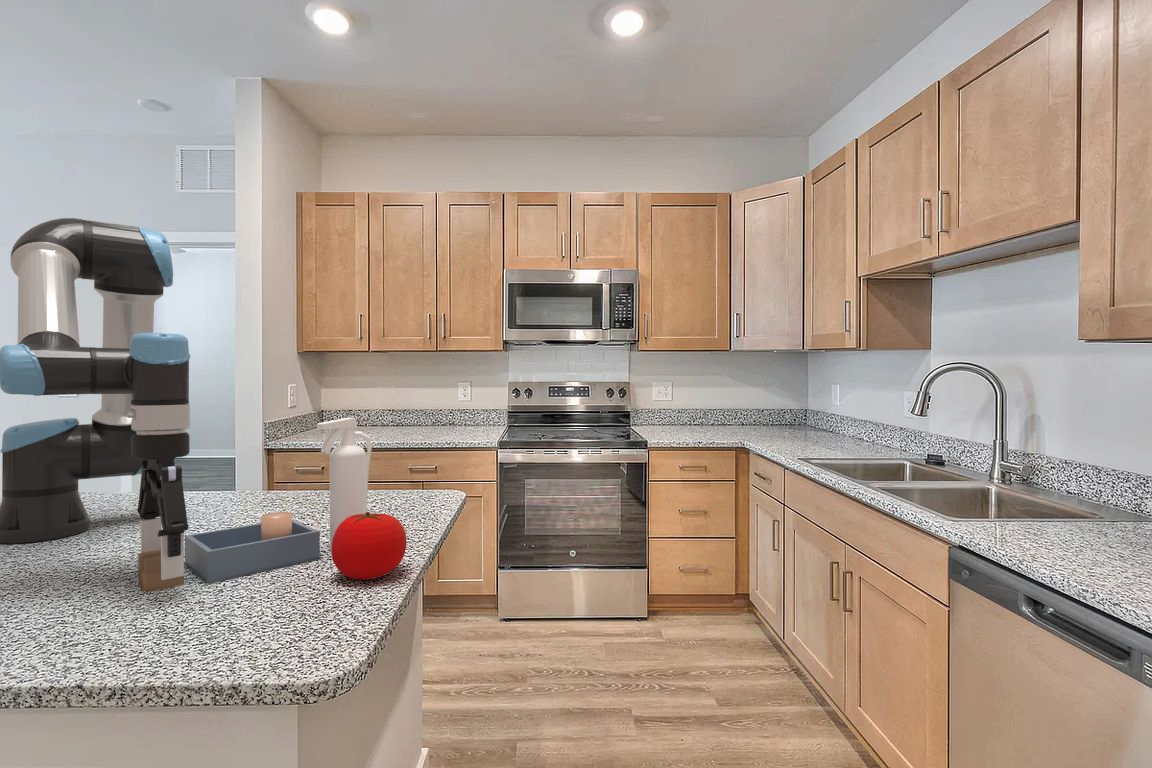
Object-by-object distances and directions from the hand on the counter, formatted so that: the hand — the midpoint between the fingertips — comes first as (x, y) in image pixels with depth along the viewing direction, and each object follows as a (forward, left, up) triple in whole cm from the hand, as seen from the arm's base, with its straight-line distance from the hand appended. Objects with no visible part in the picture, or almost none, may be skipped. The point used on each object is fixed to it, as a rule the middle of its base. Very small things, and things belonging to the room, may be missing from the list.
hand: (161, 567), depth 93 cm
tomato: (+19, +25, -3) cm, 31 cm away
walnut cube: (0, 0, -3) cm, 3 cm away
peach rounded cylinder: (-2, +18, -2) cm, 18 cm away
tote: (-2, +14, -3) cm, 14 cm away
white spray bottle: (+2, +30, -3) cm, 30 cm away
